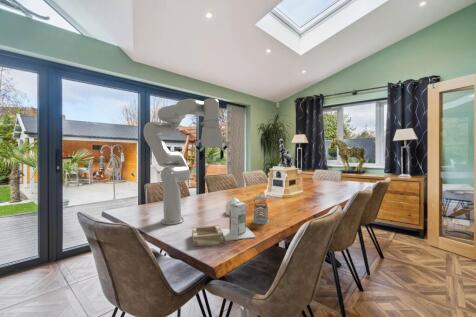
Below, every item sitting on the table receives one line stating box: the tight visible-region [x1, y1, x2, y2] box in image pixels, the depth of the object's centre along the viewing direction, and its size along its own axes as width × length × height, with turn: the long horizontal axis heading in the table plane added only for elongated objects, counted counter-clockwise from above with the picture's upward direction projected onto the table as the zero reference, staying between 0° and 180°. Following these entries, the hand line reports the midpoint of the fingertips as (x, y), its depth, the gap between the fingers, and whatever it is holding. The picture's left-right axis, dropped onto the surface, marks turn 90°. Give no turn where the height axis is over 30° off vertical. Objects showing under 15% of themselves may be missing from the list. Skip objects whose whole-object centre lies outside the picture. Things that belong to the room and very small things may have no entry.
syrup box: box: [229, 201, 247, 235], centre depth 114 cm, size 6×6×14 cm
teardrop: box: [224, 194, 241, 216], centre depth 151 cm, size 11×11×12 cm
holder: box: [191, 224, 224, 247], centre depth 107 cm, size 13×13×4 cm
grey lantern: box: [248, 177, 270, 225], centre depth 133 cm, size 10×12×25 cm
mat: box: [220, 226, 256, 242], centre depth 114 cm, size 14×14×1 cm
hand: (211, 159), depth 117 cm, fingers open, 9 cm apart
